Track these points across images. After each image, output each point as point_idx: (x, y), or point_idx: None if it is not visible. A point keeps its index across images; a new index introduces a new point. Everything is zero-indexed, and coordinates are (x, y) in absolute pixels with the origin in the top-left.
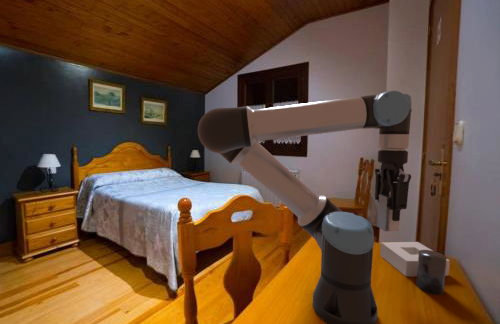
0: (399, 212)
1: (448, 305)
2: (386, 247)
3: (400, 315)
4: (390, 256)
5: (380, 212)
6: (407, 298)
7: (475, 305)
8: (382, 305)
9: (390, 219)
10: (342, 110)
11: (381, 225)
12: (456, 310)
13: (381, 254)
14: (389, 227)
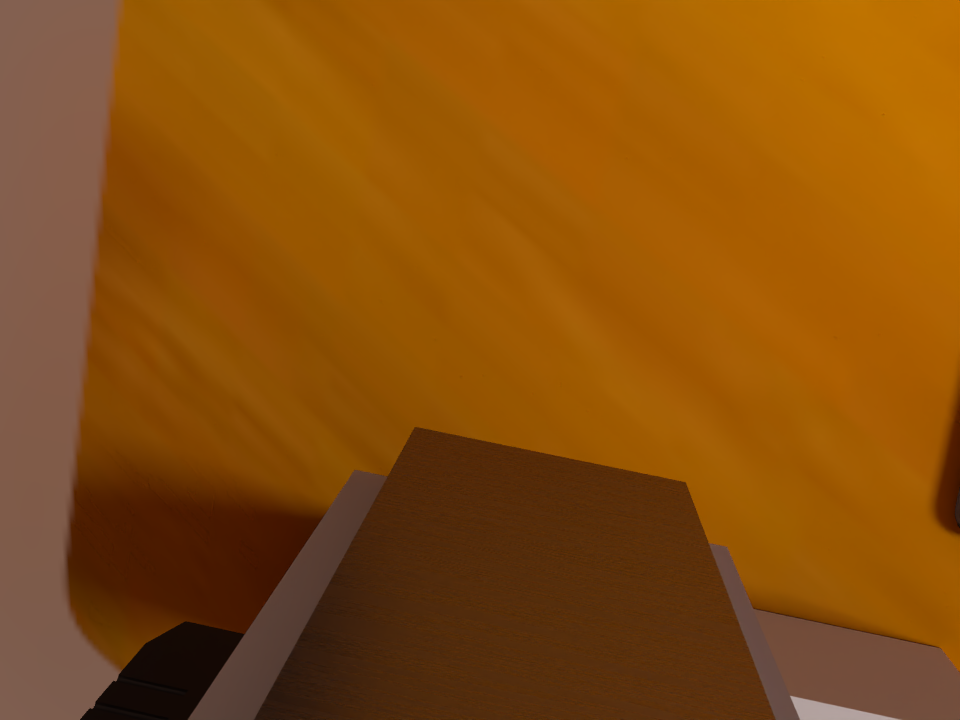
0: None
1: (194, 539)
2: (893, 710)
3: (145, 122)
4: (792, 653)
5: (626, 654)
6: (301, 333)
7: None
8: (259, 71)
9: (276, 608)
10: None
11: (541, 481)
12: (145, 539)
13: (926, 654)
14: (335, 505)
